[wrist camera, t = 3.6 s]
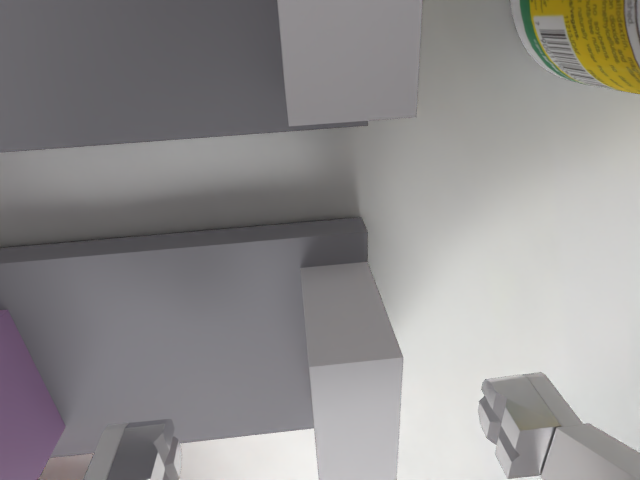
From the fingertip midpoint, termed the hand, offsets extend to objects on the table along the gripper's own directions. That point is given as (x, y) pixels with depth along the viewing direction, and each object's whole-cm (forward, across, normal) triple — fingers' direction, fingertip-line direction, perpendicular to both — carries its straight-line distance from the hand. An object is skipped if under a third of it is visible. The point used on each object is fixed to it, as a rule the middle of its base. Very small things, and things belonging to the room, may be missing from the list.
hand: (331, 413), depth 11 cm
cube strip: (+4, -10, 0) cm, 11 cm away
